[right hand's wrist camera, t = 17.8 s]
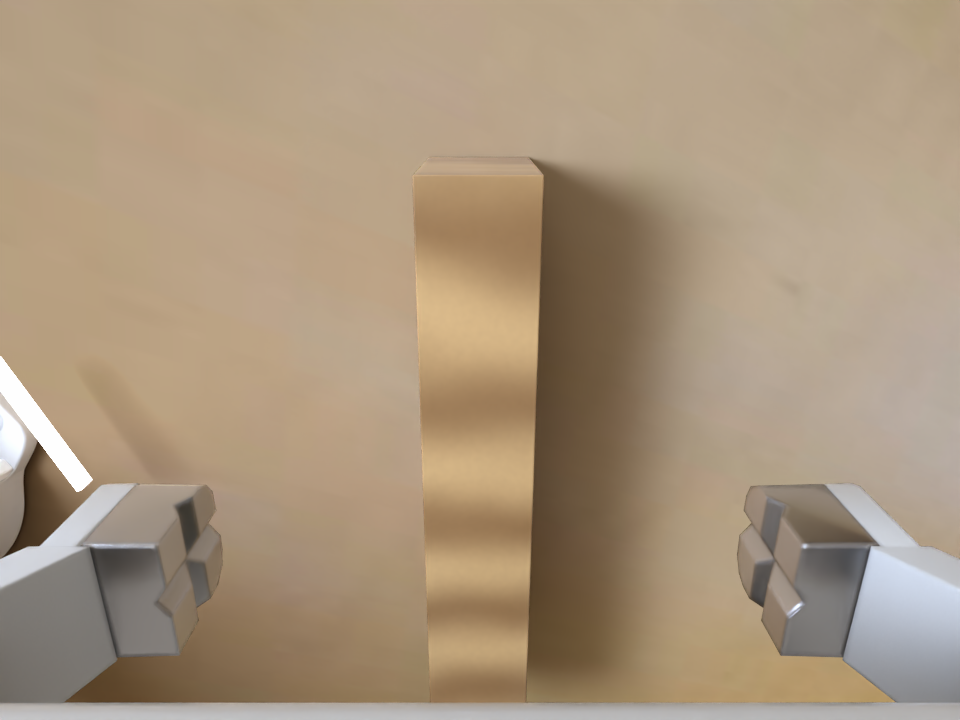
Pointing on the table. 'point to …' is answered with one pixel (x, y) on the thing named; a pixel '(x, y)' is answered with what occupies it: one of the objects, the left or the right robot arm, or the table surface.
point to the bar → (478, 416)
